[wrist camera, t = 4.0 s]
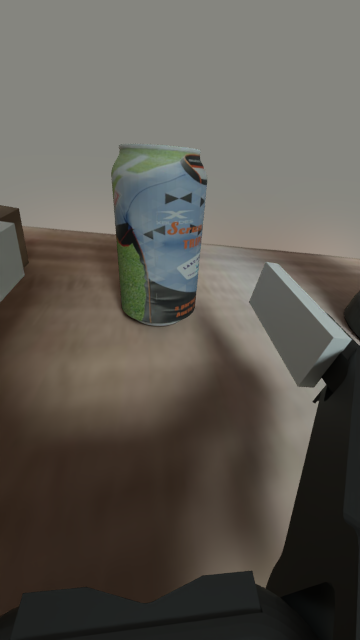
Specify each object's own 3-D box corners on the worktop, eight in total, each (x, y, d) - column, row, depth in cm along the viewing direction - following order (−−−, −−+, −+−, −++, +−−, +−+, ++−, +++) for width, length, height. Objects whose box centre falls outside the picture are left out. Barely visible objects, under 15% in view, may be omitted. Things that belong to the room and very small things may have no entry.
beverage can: (176, 347, 18) (223, 156, 11) (91, 313, 19) (86, 123, 13) (200, 308, 23) (242, 159, 16) (131, 283, 24) (143, 135, 18)
